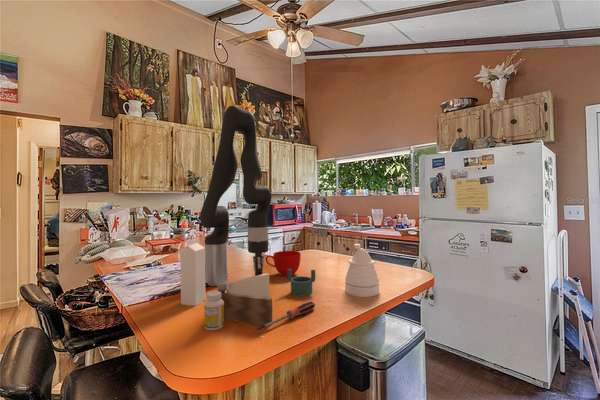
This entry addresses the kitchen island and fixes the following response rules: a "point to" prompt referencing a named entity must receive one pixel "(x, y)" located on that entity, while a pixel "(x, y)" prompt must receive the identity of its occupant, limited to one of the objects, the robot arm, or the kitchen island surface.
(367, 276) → the honey pot
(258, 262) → the robot arm
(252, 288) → the cream flat slab
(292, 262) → the ceramic cup
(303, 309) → the screwdriver
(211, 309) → the supplement bottle
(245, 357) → the kitchen island surface
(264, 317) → the brown rectangular block
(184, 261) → the milk
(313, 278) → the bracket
